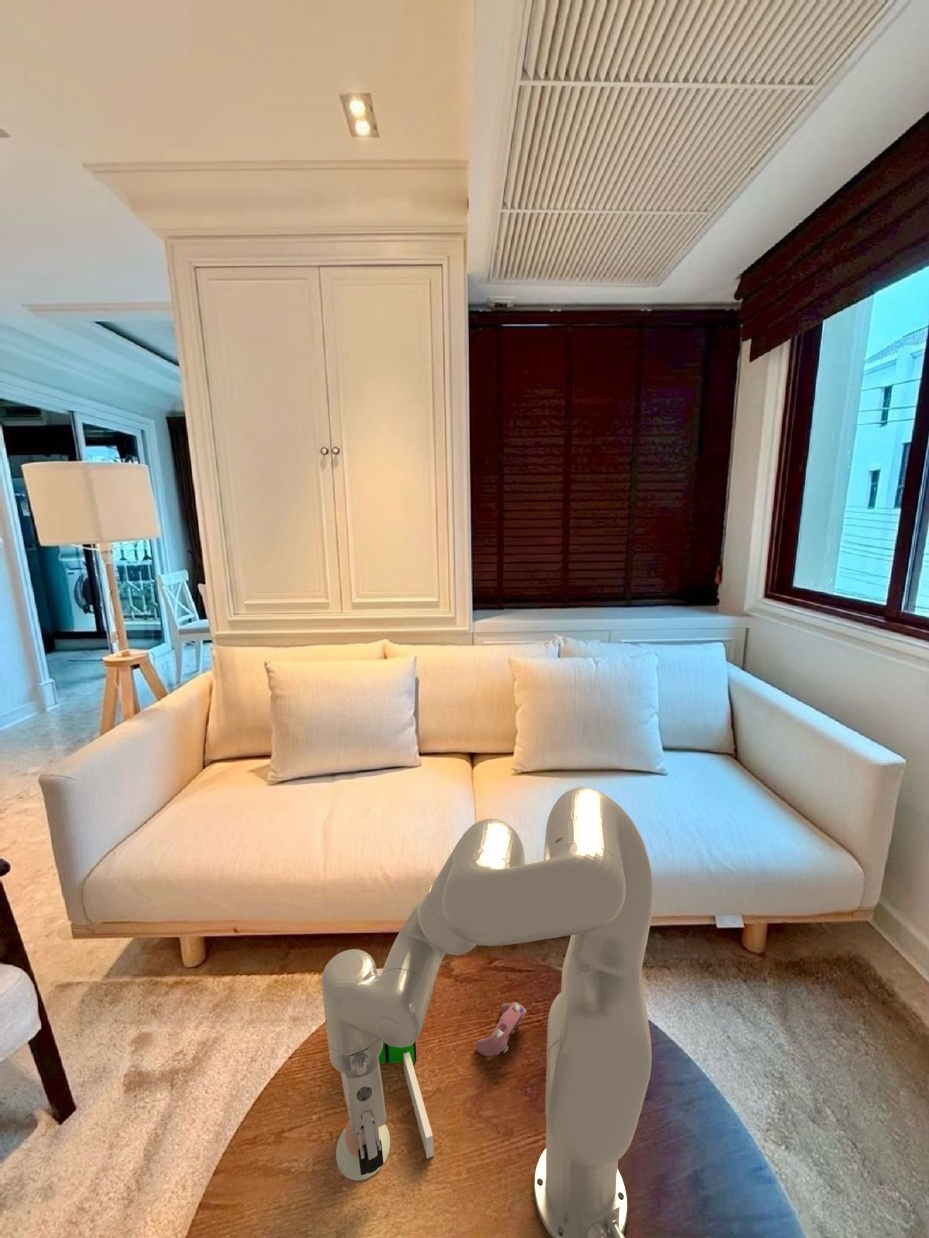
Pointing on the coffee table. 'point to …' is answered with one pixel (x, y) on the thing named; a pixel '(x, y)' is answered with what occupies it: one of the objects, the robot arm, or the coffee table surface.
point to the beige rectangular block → (418, 1105)
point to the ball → (353, 1139)
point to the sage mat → (351, 1163)
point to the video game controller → (502, 1030)
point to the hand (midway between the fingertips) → (365, 1130)
